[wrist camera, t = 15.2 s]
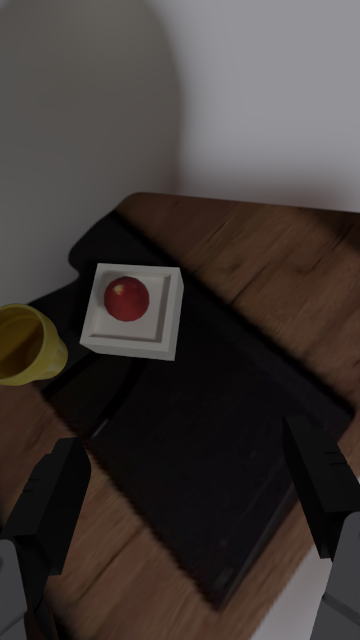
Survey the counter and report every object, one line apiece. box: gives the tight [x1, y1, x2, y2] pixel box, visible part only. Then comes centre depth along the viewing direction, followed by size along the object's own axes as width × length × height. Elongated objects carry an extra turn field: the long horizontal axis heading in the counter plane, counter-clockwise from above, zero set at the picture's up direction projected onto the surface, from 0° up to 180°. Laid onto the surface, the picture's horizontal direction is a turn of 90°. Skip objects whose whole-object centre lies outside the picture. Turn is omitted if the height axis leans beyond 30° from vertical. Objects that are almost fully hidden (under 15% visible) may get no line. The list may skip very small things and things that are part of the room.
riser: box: [80, 263, 184, 361], centre depth 44 cm, size 12×12×6 cm
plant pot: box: [0, 304, 68, 385], centre depth 42 cm, size 10×10×10 cm
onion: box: [104, 276, 150, 322], centre depth 39 cm, size 6×6×8 cm
